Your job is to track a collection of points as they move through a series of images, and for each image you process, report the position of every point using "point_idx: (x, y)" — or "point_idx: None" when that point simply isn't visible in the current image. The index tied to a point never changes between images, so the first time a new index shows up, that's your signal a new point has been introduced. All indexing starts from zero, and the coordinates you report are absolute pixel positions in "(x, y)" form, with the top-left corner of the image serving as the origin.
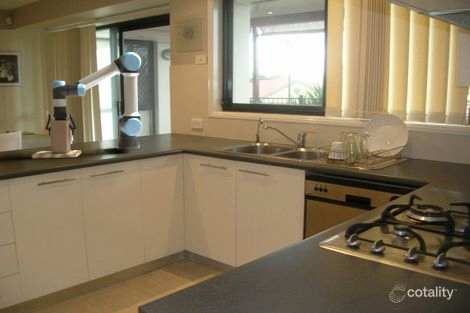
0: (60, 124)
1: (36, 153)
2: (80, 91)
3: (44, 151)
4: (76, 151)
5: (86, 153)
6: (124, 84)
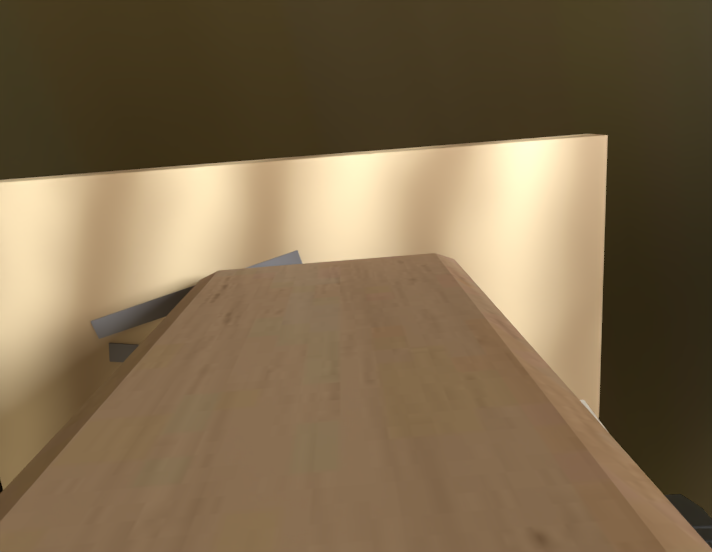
0: None
1: (3, 408)
2: None
3: (20, 210)
4: (556, 276)
5: (679, 159)
6: None
